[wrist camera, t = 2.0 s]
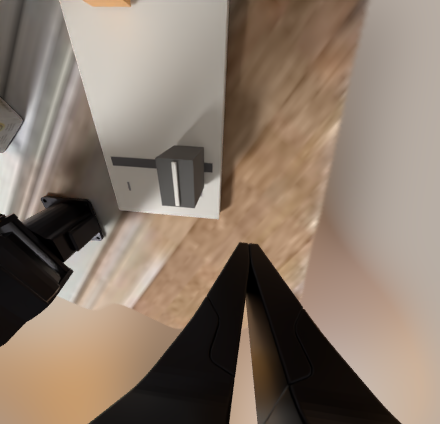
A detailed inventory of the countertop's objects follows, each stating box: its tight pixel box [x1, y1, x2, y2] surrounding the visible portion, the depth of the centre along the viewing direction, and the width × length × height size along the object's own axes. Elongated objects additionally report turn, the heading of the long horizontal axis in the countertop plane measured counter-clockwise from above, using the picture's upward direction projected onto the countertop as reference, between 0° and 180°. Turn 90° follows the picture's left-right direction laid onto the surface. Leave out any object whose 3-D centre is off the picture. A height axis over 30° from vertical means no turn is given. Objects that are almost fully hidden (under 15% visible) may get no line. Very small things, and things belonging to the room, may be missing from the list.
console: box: [59, 0, 229, 219], centre depth 16 cm, size 12×25×2 cm, turn 178°
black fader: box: [155, 145, 204, 208], centre depth 16 cm, size 3×4×5 cm
